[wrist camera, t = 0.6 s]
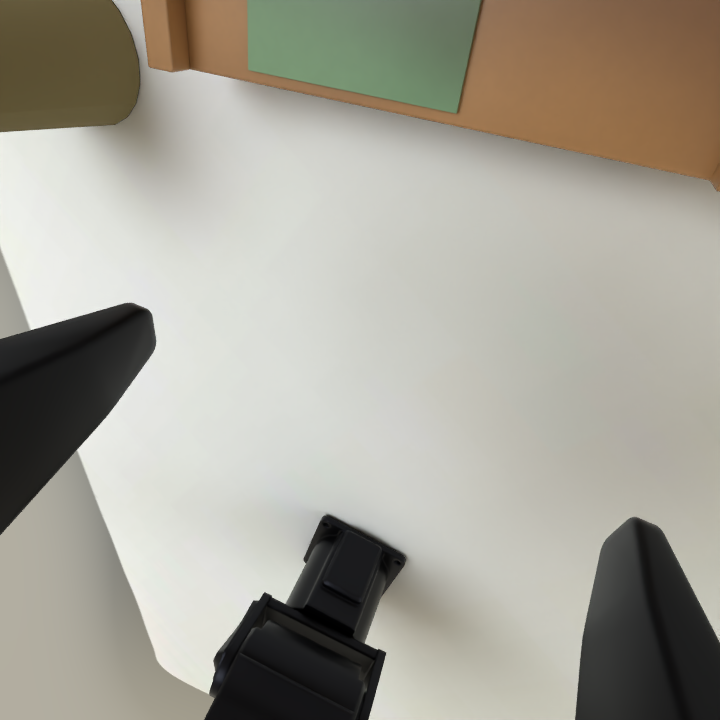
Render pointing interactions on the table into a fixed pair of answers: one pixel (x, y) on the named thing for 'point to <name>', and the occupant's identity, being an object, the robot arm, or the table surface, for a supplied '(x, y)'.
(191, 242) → the table surface
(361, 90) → the shelf
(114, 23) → the olive pawn
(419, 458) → the table surface
